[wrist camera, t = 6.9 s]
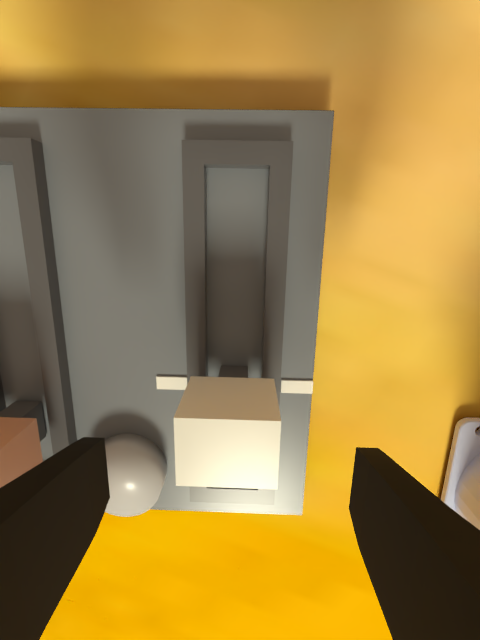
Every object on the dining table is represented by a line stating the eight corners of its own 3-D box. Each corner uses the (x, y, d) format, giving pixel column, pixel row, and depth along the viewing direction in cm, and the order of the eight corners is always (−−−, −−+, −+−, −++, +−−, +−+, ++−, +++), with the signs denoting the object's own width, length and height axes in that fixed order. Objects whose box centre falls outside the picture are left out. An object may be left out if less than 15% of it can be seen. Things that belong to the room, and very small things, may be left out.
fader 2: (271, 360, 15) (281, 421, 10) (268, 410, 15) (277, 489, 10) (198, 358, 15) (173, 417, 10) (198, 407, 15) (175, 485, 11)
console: (325, 123, 14) (342, 97, 11) (297, 492, 18) (305, 536, 16) (-34, 119, 14) (-99, 93, 11) (26, 482, 19) (-11, 523, 16)
